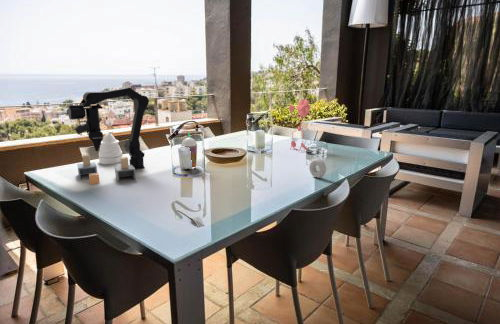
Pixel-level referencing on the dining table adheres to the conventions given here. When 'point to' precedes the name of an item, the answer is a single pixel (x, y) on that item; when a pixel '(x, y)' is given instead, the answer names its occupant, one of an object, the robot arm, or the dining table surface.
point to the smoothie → (191, 148)
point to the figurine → (302, 110)
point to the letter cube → (94, 178)
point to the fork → (191, 217)
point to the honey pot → (109, 150)
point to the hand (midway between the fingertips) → (96, 149)
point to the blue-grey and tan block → (86, 166)
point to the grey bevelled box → (124, 169)
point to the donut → (321, 168)
